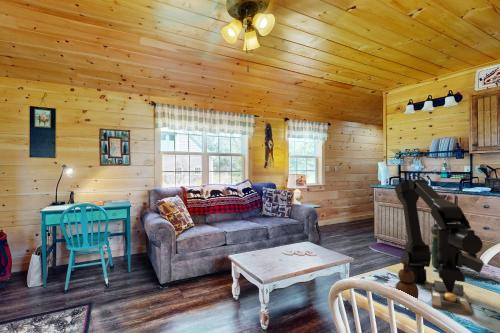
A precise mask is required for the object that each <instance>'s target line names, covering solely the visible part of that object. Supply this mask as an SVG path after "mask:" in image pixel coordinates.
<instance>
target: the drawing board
mask: <svg viewBox="0 0 500 333" xmlns="http://www.w3.org/2000/svg"><path fill="white" fill-rule="evenodd" d="M445 293H446V292H440V291H435V287H431V286H430V294H431V307H432V308H434V309H435V308H436V309H439V310H445V311H449V312H454V313H458V314H464V315H467V316H472V315H473V314H472V309H471V307H470V303H469V300H468V298H467V294H466V292H465V291H464V296H462V295H457V294H454V295H456V302H451V301H447V300H446V299H445Z"/></svg>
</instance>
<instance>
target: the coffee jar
mask: <svg viewBox="0 0 500 333" xmlns="http://www.w3.org/2000/svg"><path fill="white" fill-rule="evenodd" d="M430 236H431V238H430V240H431V242H430V243H431V244H430V245H431V247H430V248H431V265H432V267H433V268H435V269H438V266H441V264H439V262H437V258H436V255H437V254H438V234H437V228H436V227H434V225H432V226H431V228H430Z"/></svg>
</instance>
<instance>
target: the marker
mask: <svg viewBox="0 0 500 333" xmlns="http://www.w3.org/2000/svg"><path fill="white" fill-rule="evenodd" d="M431 287H435V291H440V292H446V293H449V292H448V291H447V289H446V287H445V285H444V283H443V281H441V280H434V281H433V282H431V283H430V288H431ZM464 292H465V290H464V285H463V284H459V283H455V284H454V288H453V292H452V294H457V295H462V296H464Z"/></svg>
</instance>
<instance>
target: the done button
mask: <svg viewBox="0 0 500 333" xmlns="http://www.w3.org/2000/svg"><path fill="white" fill-rule="evenodd" d="M445 299H446V300H447V301H451V302H456V295H454V294H452V293H445Z"/></svg>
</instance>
